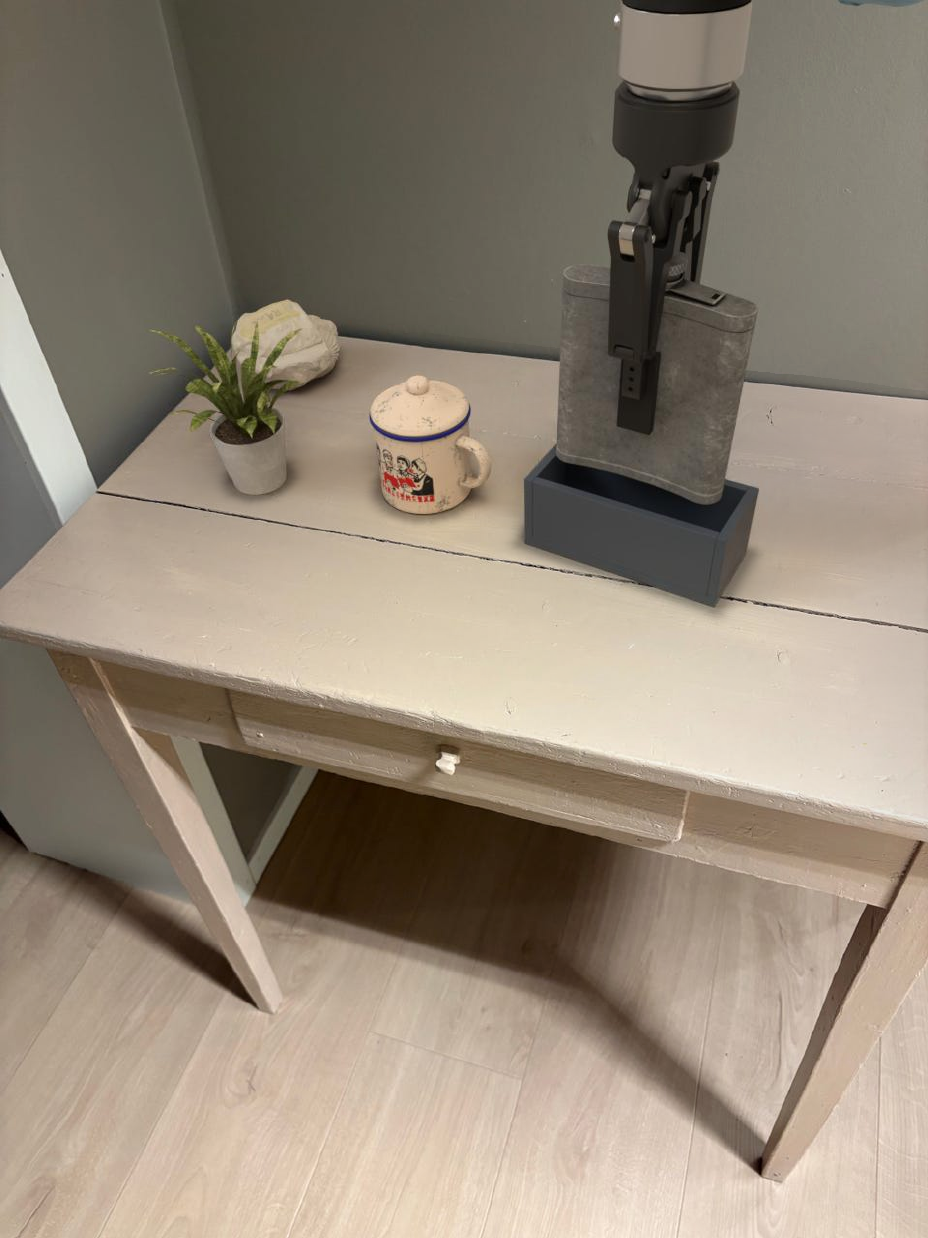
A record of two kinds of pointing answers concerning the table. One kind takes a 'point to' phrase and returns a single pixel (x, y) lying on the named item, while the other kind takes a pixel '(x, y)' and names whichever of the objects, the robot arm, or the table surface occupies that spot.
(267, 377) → the fossil replica
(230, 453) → the house plant
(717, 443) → the flask
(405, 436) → the teacup with lid
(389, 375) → the table surface
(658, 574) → the holder
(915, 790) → the table surface
